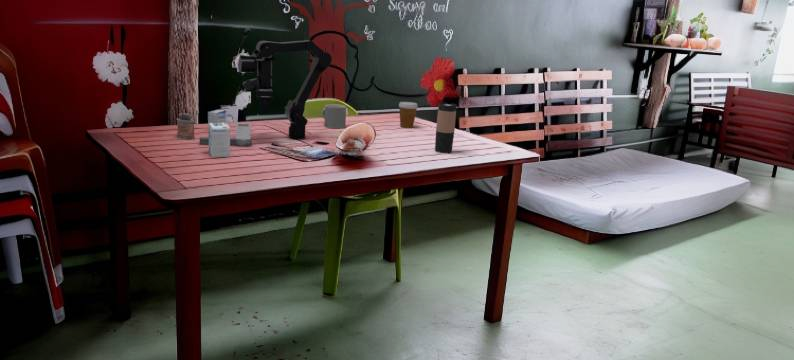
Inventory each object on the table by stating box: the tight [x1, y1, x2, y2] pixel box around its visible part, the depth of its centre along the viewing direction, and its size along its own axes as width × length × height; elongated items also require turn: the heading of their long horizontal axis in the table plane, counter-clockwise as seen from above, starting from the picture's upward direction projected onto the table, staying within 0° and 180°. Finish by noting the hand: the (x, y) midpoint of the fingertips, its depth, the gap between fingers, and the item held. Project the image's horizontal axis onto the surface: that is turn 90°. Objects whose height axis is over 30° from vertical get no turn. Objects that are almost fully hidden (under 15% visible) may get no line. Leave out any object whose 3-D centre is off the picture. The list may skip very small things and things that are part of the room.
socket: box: [235, 123, 252, 139], centre depth 238 cm, size 6×6×5 cm
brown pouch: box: [176, 112, 196, 140], centre depth 243 cm, size 8×3×10 cm, turn 68°
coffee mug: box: [321, 103, 347, 130], centre depth 288 cm, size 13×10×10 cm
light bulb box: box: [208, 122, 231, 158], centre depth 222 cm, size 11×7×11 cm, turn 23°
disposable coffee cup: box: [398, 101, 419, 129], centre depth 298 cm, size 10×10×12 cm
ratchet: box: [199, 136, 253, 148], centre depth 237 cm, size 20×6×6 cm, turn 102°
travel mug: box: [434, 102, 458, 154], centre depth 251 cm, size 8×8×20 cm
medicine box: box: [207, 109, 227, 131], centre depth 260 cm, size 8×4×9 cm, turn 168°
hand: (264, 110), depth 249 cm, fingers open, 9 cm apart
